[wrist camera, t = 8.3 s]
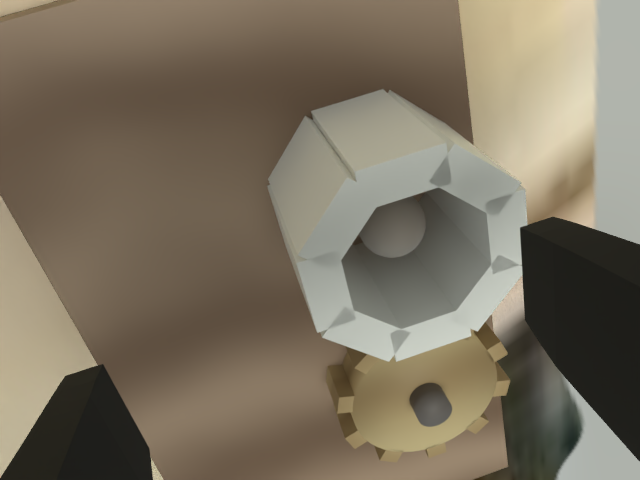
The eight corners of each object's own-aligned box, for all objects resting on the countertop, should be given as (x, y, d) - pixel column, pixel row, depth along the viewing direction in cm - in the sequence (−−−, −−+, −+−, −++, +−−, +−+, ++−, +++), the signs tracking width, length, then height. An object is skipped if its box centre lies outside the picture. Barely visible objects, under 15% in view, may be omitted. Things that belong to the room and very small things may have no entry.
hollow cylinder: (441, 70, 17) (521, 119, 13) (462, 237, 20) (532, 315, 16) (249, 129, 17) (275, 196, 13) (299, 291, 20) (332, 383, 16)
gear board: (494, 445, 27) (549, 534, 24) (215, 546, 26) (224, 656, 23) (428, -104, 16) (513, -106, 12) (-69, 36, 15) (-146, 83, 11)
